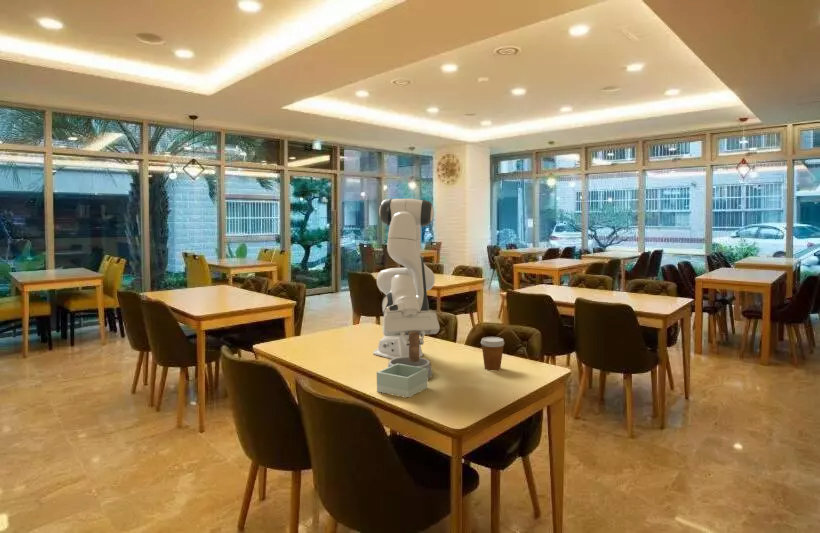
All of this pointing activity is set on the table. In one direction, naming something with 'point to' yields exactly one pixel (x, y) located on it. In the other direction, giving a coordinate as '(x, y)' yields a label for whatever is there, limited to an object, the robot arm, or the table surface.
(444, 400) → the table surface
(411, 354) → the peg
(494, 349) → the disposable coffee cup
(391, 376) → the socket box
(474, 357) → the table surface
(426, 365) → the dog bowl
